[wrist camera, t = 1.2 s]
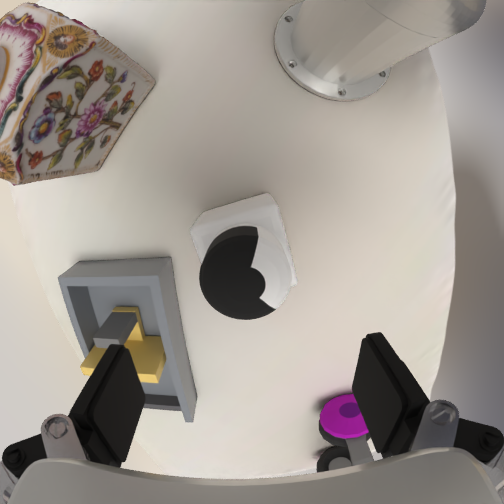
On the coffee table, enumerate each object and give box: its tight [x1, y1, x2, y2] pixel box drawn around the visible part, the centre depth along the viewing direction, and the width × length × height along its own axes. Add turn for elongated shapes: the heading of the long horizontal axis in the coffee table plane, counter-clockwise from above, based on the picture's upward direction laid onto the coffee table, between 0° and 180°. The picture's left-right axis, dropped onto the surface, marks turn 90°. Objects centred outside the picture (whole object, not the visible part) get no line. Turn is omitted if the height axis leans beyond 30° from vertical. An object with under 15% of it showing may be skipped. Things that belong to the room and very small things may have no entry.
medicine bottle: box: [190, 193, 298, 320], centre depth 24 cm, size 7×7×12 cm
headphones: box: [317, 394, 374, 473], centre depth 31 cm, size 21×9×20 cm, turn 8°
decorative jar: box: [0, 3, 155, 185], centre depth 16 cm, size 12×12×18 cm
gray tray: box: [58, 257, 197, 422], centre depth 31 cm, size 21×12×5 cm, turn 2°
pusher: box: [80, 307, 167, 383], centre depth 28 cm, size 5×9×7 cm, turn 92°
